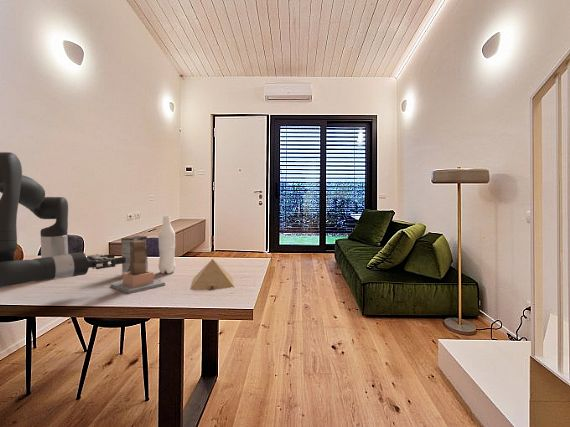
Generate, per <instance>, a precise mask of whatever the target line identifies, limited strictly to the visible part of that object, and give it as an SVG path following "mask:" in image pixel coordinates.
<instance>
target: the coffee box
mask: <svg viewBox="0 0 570 427" xmlns="http://www.w3.org/2000/svg"><path fill="white" fill-rule="evenodd" d="M138 240H141V241H145V255H146V270H147V271H149V270H148V268H149V267H148V236H146V235H145V236H143V235H133V236H127V237H123V238H122V237H121V238H120V241H121V244H120V245H121V257H125V258H126V262H125V263H123V264H122V265H121V268H122V269H121V272H122V273H125V272H130V241H138Z"/></svg>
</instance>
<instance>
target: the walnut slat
mask: <svg viewBox="0 0 570 427" xmlns="http://www.w3.org/2000/svg"><path fill="white" fill-rule="evenodd" d="M145 273H146V255H145V241H141V240H138V241H130V274H131V275H139V274H145Z"/></svg>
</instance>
